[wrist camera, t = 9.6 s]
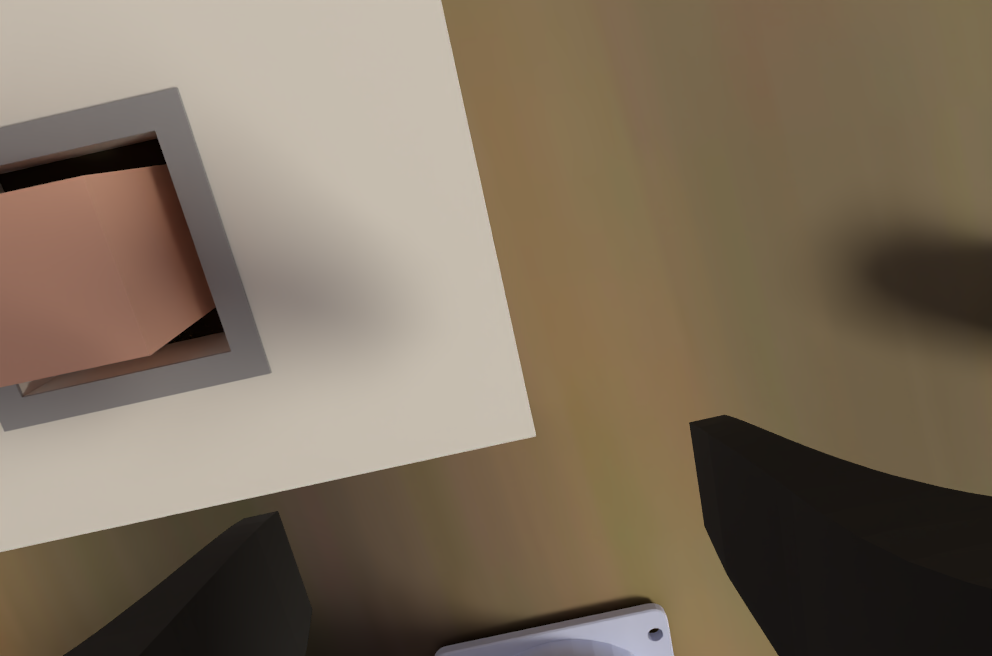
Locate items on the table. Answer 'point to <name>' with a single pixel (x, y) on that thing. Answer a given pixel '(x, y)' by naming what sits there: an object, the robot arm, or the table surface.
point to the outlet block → (264, 255)
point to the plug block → (94, 273)
